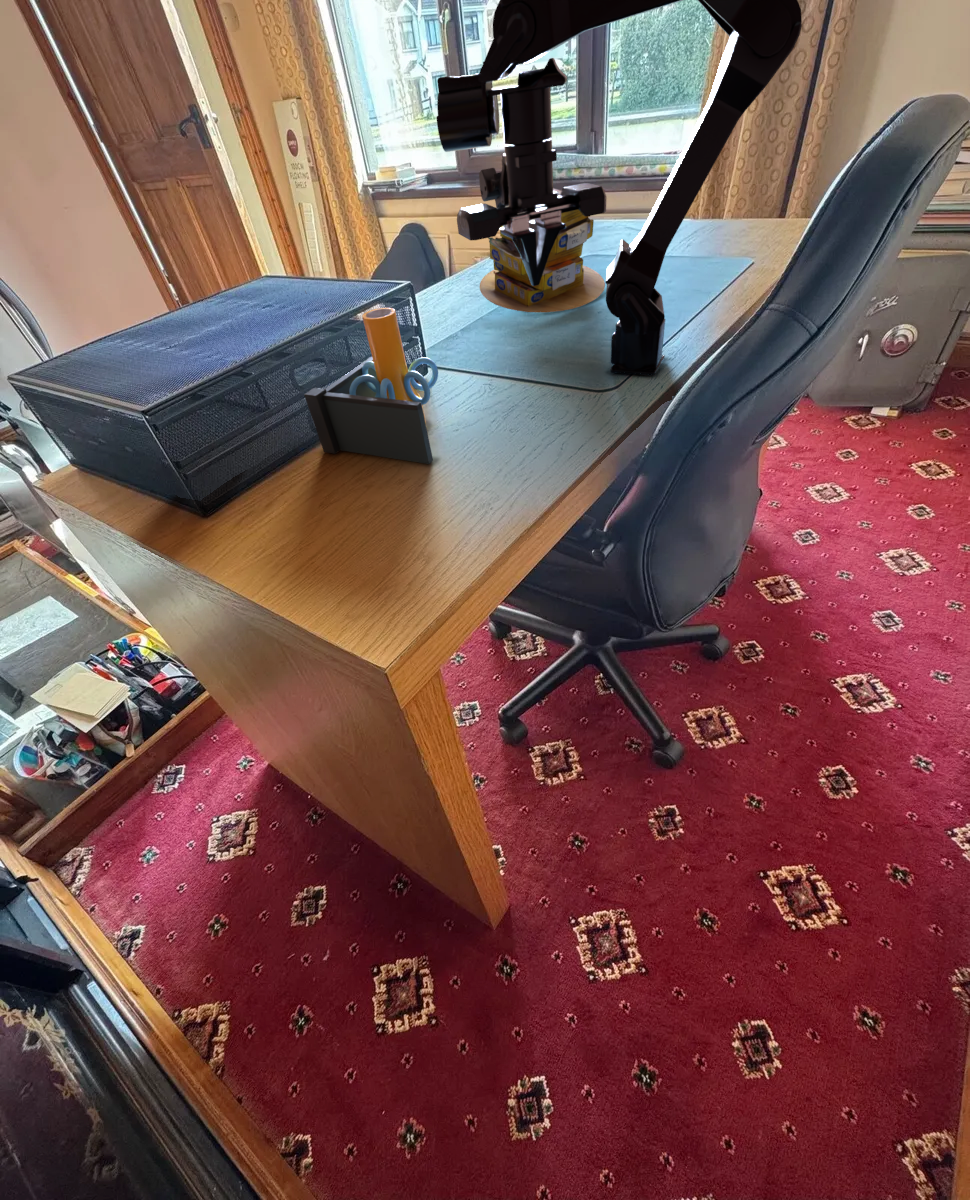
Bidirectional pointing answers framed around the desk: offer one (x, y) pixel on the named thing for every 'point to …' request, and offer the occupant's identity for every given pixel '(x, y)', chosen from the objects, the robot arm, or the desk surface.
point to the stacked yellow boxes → (561, 278)
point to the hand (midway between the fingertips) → (535, 284)
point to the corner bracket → (368, 421)
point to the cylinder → (392, 361)
